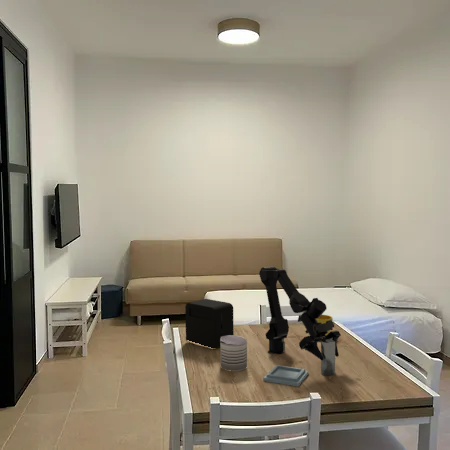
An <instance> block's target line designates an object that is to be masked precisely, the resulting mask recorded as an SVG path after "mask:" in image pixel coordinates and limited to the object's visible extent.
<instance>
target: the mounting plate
mask: <svg viewBox="0 0 450 450" xmlns="http://www.w3.org/2000/svg"><path fill="white" fill-rule="evenodd" d="M308 375H309V371H308V370H306V368H299V367H295V366H294V367H292V366H286V365H279V364H276V365H275V366H274V367H272V368H271V370H270V371H268V373H267V374H265V376H263V378H262V380H263V382H268V383H275V384H281V385H286V386H294V387H299V386H300V385H301V384H302V383H303V381H304V380H305V379H306V377H307V376H308Z"/></svg>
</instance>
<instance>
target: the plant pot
mask: <svg viewBox="0 0 450 450" xmlns="http://www.w3.org/2000/svg"><path fill="white" fill-rule="evenodd" d="M316 320H317V321H318V323H320V322H321V323H322V324H323V323H326V321H329V320H332V322H333V323H334V321H333V320H334V319H333V316H331V315H328V314H322V315H321V316H320V317H319V318H318V319H316ZM330 331H331V330H329V331H327V332H328V333H327V334H325V336H326V335H328V334H329V333H330Z"/></svg>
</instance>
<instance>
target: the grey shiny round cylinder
mask: <svg viewBox="0 0 450 450" xmlns="http://www.w3.org/2000/svg"><path fill="white" fill-rule="evenodd" d="M320 352H321V354H322V356H323V358H324V360H320V374H321V375H323V376H324V377H326V376H327V377H331V376H335V375H336V356H335V341H333V340H322V341H321V342H320Z"/></svg>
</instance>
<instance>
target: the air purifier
mask: <svg viewBox="0 0 450 450" xmlns="http://www.w3.org/2000/svg"><path fill="white" fill-rule="evenodd" d="M184 313H185V340H186V341H187V340H189V341H192V342H195V343H199V344H201V345H204V346H208V347H211V348H216V349H218V347H219V348H220V338H221V337H222V336H227V335H233V336H235V335H234V333H235V332H234V306H233V304H232V303H230V302H226V301H221V300H220V301H219V300H216V299H209V298H204V299H200V300H195V301H190V302H187V303H186V304H185V312H184Z"/></svg>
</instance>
